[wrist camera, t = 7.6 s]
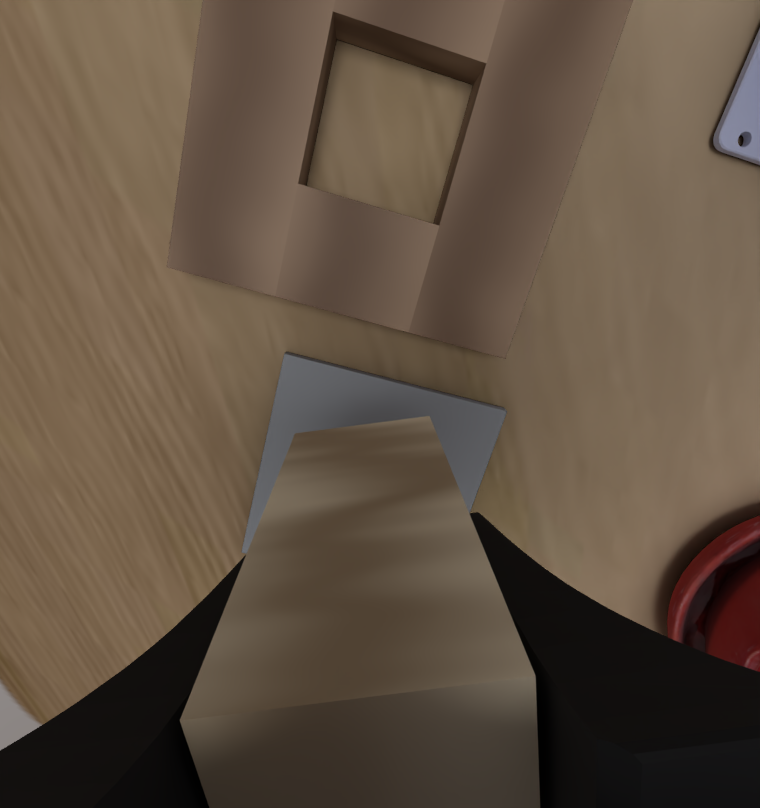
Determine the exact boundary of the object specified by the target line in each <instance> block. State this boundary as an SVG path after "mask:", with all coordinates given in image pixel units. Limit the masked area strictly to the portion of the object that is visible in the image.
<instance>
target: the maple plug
mask: <svg viewBox="0 0 760 808" xmlns="http://www.w3.org/2000/svg"><path fill="white" fill-rule="evenodd" d="M180 723H181V726H182V729H183V732H184V735H185V738H186V741H187V743H188V746H189V749H190V752H191V755H192V758H193V761H194V764H195V767H196V770H197V773H198V776H199V779H200V782H201V785H202V787H203V790H204V793H205V796H206V799H207V802H208V805H209V808H540V786H539V758H538V729H537V701H536V676H535V673H534V671H533V668H532V666H531V664H530V661H529V659H528V656H527V654H526V651H525V649H524V646H523V644H522V642H521V639H520V637H519V634H518V632H517V629H516V627H515V624H514V622H513V619H512V617H511V615H510V612H509V610H508V607H507V605H506V602H505V600H504V597H503V595H502V592H501V590H500V588H499V585H498V583H497V580H496V578H495V575H494V573H493V570H492V568H491V566H490V563H489V561H488V558H487V556H486V553H485V551H484V548H483V546H482V543H481V541H480V539H479V536H478V534H477V531H476V529H475V526H474V524H473V521H472V519H471V516H470V514H469V512H468V509H467V507H466V504H465V502H464V499H463V497H462V494H461V492H460V489H459V487H458V485H457V482H456V480H455V477H454V475H453V472H452V470H451V467H450V465H449V463H448V460H447V458H446V455H445V453H444V450H443V448H442V445H441V443H440V440H439V438H438V436H437V433H436V431H435V428H434V426H433V423H432V421H431V418H430V416H425V417H417V418H409V419H401V420H394V421H386V422H378V423H371V424H363V425H355V426H348V427H340V428H332V429H325V430H317V431H309V432H302V433H295V435H294V437H293V440H292V442H291V445H290V447H289V450H288V452H287V455H286V457H285V460H284V462H283V465H282V467H281V469H280V472H279V474H278V477H277V479H276V482H275V484H274V487H273V489H272V492H271V494H270V497H269V499H268V502H267V504H266V507H265V509H264V512H263V514H262V517H261V519H260V522H259V524H258V527H257V529H256V532H255V534H254V537H253V539H252V542H251V544H250V547H249V549H248V552H247V554H246V557H245V559H244V562H243V564H242V567H241V569H240V572H239V574H238V577H237V579H236V582H235V584H234V587H233V589H232V592H231V594H230V597H229V599H228V602H227V604H226V607H225V609H224V612H223V614H222V617H221V619H220V621H219V624H218V626H217V629H216V631H215V634H214V636H213V639H212V641H211V644H210V646H209V649H208V651H207V654H206V656H205V659H204V661H203V664H202V666H201V669H200V671H199V674H198V676H197V679H196V681H195V684H194V686H193V689H192V691H191V694H190V696H189V699H188V701H187V704H186V706H185V709H184V711H183V714H182V716H181V719H180Z"/></svg>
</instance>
